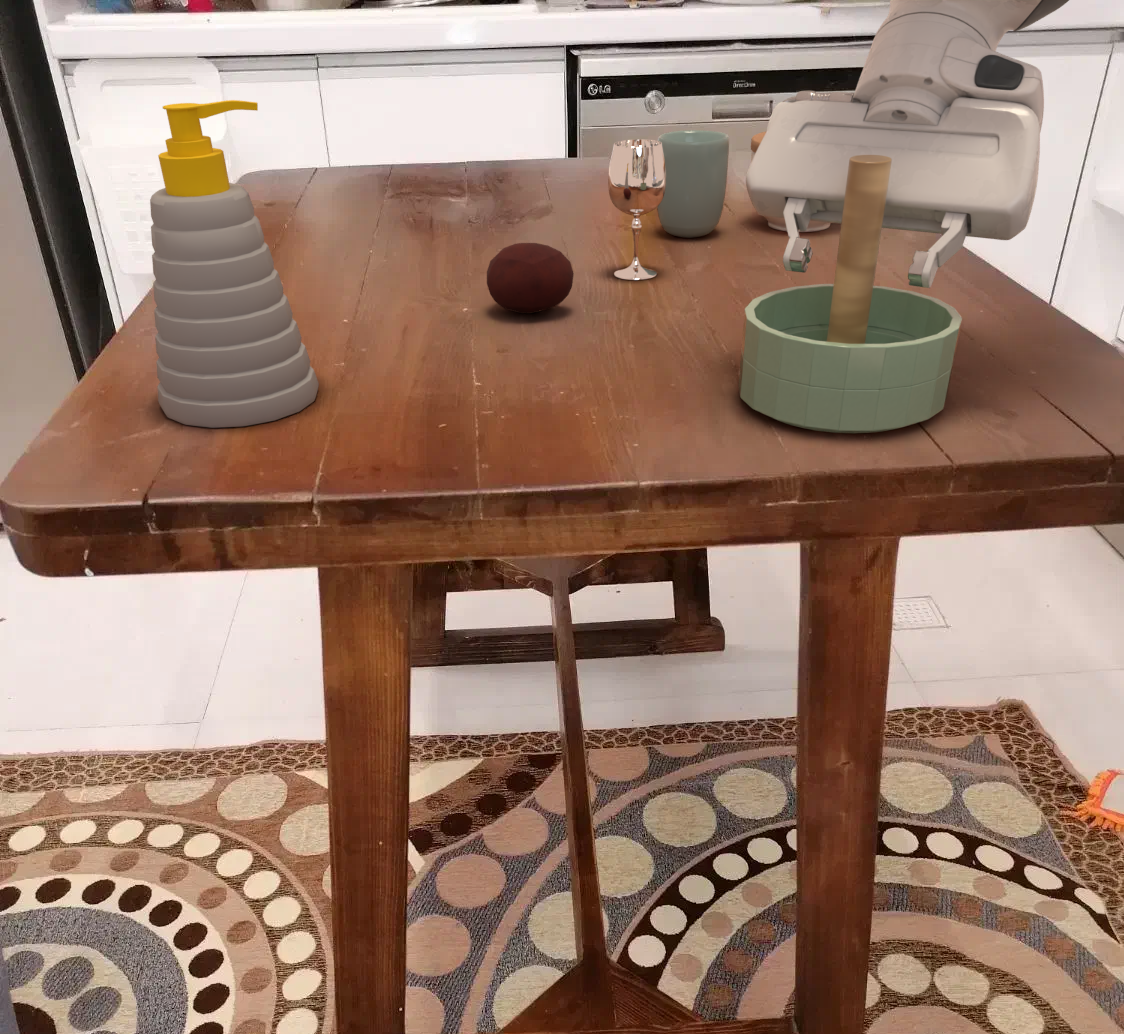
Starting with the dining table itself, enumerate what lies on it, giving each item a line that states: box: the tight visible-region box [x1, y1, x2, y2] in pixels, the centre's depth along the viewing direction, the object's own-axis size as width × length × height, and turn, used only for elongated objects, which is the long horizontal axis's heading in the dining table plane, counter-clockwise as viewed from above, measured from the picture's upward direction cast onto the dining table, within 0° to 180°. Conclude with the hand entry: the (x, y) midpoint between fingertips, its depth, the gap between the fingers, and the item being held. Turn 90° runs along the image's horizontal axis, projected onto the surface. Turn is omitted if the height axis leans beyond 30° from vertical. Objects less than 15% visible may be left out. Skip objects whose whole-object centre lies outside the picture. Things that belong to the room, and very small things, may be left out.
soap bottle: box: [149, 99, 320, 429], centre depth 81 cm, size 12×12×20 cm
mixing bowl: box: [738, 283, 963, 434], centre depth 82 cm, size 15×15×6 cm
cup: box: [656, 129, 730, 239], centre depth 124 cm, size 8×8×10 cm
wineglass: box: [607, 138, 667, 281], centre depth 110 cm, size 6×6×12 cm
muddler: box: [827, 155, 892, 344], centre depth 79 cm, size 4×4×16 cm
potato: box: [486, 242, 575, 314], centre depth 102 cm, size 7×8×6 cm
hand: (854, 274), depth 78 cm, fingers open, 8 cm apart
